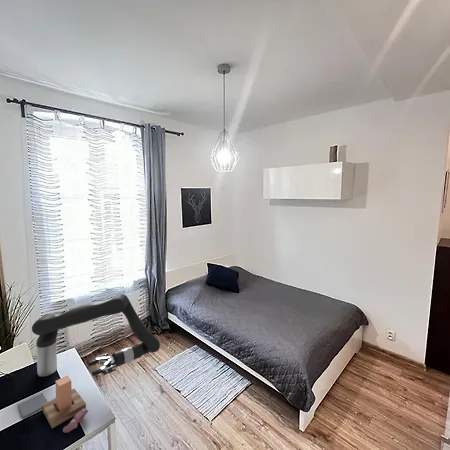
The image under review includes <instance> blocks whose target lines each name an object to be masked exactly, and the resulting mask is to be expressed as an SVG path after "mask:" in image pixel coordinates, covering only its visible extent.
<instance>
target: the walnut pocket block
mask: <svg viewBox="0 0 450 450" xmlns="http://www.w3.org/2000/svg"><path fill="white" fill-rule="evenodd" d="M47 401H48V402H46V403H44V404H42V409H41V411H42V412H43V414H44V416H45V418H46V419H47V422H48V424H49V426H50V427H51V429H54V428H56V427H58V425H61V424H62V423H64V422H66V421H68V420H70V419H71V418H74V417H75V415H76V414H77V413H78V412H79V411H81V410H82V409H83V408H84V409H87V403H86V402H85V401H84V399H83V398H82V396H81V395H80V394H79V392H78V391H77V390H76V388H73V389H72V406H70V407H68V408H66V409H64V410H62V411H61V412H59V413H58V412H57V410H56V397H55V398H52V399H50V400H47Z"/></svg>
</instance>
